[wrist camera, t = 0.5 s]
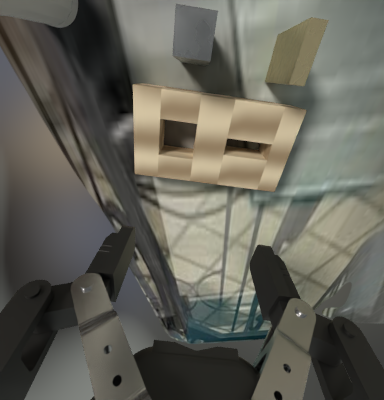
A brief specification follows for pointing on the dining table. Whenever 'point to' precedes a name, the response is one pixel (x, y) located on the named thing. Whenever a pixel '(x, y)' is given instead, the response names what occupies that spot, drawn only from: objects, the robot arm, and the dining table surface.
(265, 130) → the socket block
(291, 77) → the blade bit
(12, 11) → the cup
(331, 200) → the dining table surface
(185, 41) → the square bit
